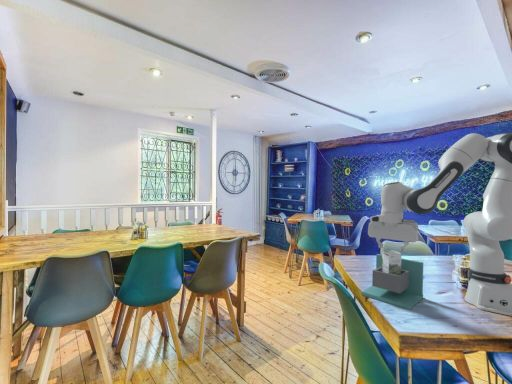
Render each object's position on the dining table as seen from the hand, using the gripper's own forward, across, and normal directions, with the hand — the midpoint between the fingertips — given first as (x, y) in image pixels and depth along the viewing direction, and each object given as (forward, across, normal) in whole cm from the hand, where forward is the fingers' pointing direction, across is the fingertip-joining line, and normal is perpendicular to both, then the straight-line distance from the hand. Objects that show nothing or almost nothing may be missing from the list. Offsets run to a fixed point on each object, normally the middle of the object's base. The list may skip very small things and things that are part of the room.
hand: (391, 249), depth 119 cm
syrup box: (+16, 0, 0) cm, 16 cm away
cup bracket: (+22, +1, -2) cm, 22 cm away
